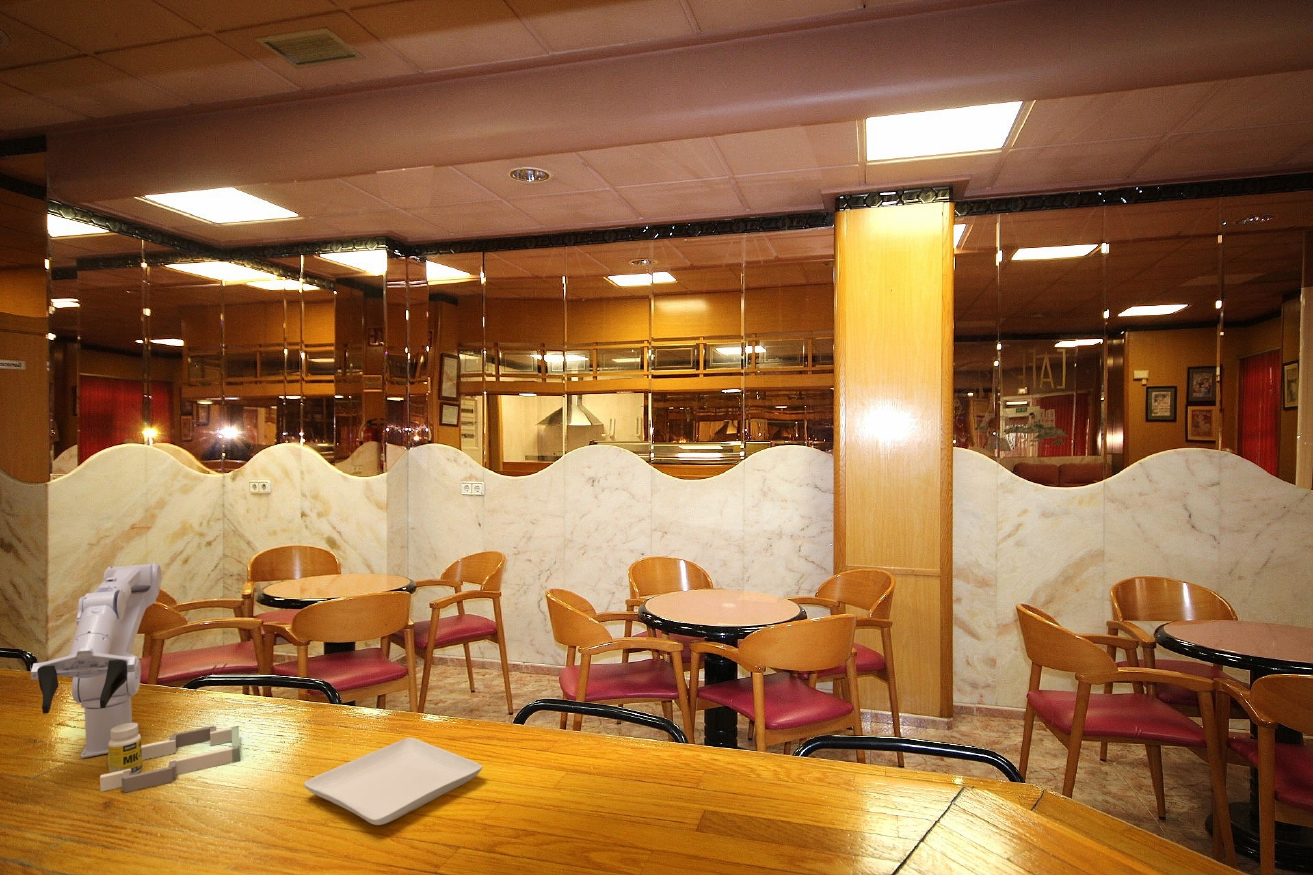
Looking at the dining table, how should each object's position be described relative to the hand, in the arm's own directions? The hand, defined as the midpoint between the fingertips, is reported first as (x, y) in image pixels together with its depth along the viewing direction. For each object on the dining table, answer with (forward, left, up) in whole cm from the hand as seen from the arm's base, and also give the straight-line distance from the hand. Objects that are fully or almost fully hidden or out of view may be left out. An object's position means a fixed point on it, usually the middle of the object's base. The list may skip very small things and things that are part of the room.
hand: (74, 706), depth 123 cm
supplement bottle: (-5, +6, -15) cm, 17 cm away
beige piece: (-5, +13, -15) cm, 21 cm away
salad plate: (+27, +46, -16) cm, 56 cm away
